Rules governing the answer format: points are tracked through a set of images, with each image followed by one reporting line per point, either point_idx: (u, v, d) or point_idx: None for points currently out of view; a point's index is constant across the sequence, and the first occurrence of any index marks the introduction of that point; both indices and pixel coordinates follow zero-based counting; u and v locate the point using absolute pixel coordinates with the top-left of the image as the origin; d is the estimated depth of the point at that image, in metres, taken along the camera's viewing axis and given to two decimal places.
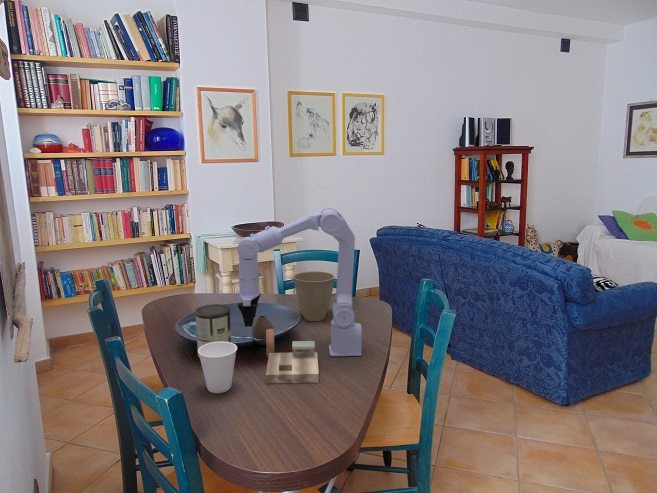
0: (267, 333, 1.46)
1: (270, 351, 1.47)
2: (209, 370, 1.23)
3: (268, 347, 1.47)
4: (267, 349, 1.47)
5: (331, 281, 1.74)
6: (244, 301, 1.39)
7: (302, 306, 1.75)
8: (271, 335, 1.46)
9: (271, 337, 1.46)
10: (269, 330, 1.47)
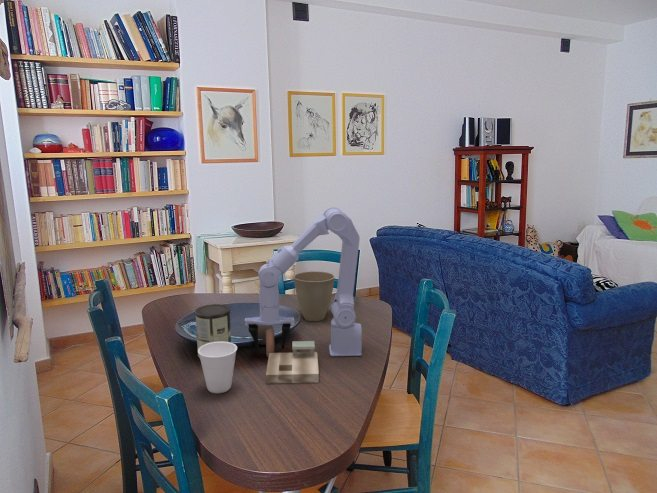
0: (267, 333, 1.46)
1: (270, 351, 1.47)
2: (209, 370, 1.23)
3: (268, 347, 1.47)
4: (267, 349, 1.47)
5: (331, 281, 1.74)
6: (245, 320, 1.46)
7: (302, 306, 1.75)
8: (271, 335, 1.46)
9: (271, 337, 1.46)
10: (269, 330, 1.46)
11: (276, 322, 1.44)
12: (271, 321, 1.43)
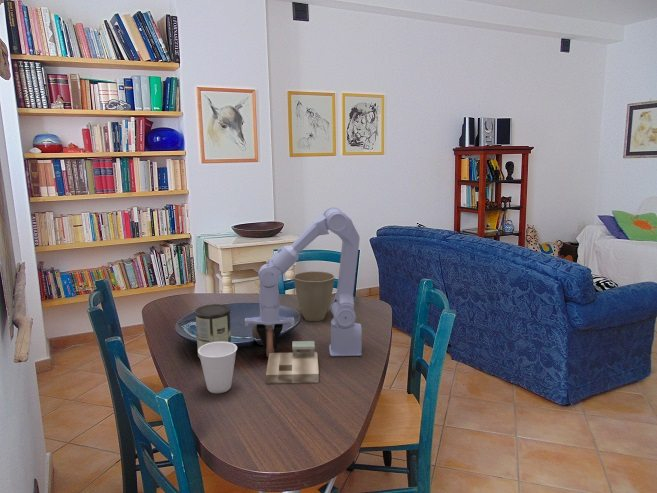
0: (267, 333, 1.46)
1: (270, 351, 1.47)
2: (209, 370, 1.23)
3: (268, 347, 1.47)
4: (267, 349, 1.47)
5: (331, 281, 1.74)
6: (245, 320, 1.46)
7: (302, 306, 1.75)
8: (271, 335, 1.46)
9: (271, 337, 1.46)
10: (269, 330, 1.46)
11: (276, 322, 1.44)
12: (271, 321, 1.43)
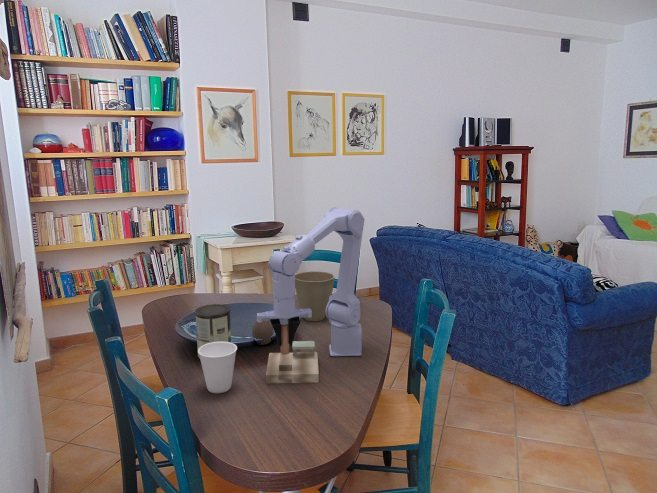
0: (283, 328, 1.31)
1: (286, 348, 1.32)
2: (209, 370, 1.23)
3: (284, 344, 1.32)
4: (282, 346, 1.32)
5: (331, 281, 1.74)
6: (257, 315, 1.30)
7: (302, 306, 1.75)
8: (287, 330, 1.32)
9: (287, 331, 1.32)
10: (284, 325, 1.32)
11: (294, 315, 1.29)
12: (289, 314, 1.29)
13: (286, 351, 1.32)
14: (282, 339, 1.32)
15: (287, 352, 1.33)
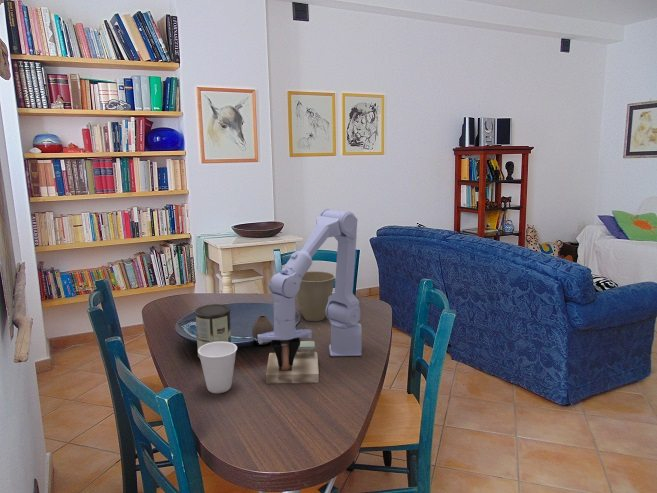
0: (283, 349, 1.32)
1: (286, 368, 1.33)
2: (209, 370, 1.23)
3: (284, 364, 1.33)
4: (283, 367, 1.33)
5: (331, 281, 1.74)
6: None
7: (302, 306, 1.75)
8: (287, 350, 1.33)
9: (287, 352, 1.33)
10: (284, 345, 1.33)
11: (294, 336, 1.31)
12: (289, 335, 1.30)
13: None
14: (282, 360, 1.33)
15: None
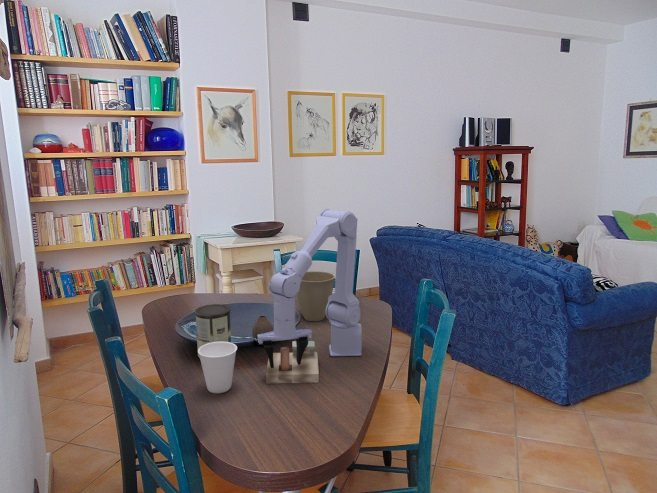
0: (283, 352, 1.32)
1: None
2: (209, 370, 1.23)
3: (284, 367, 1.33)
4: (283, 370, 1.34)
5: (331, 281, 1.74)
6: None
7: (302, 306, 1.75)
8: (287, 354, 1.33)
9: (287, 355, 1.33)
10: (284, 349, 1.33)
11: (294, 336, 1.31)
12: (289, 335, 1.30)
13: None
14: (282, 363, 1.33)
15: None
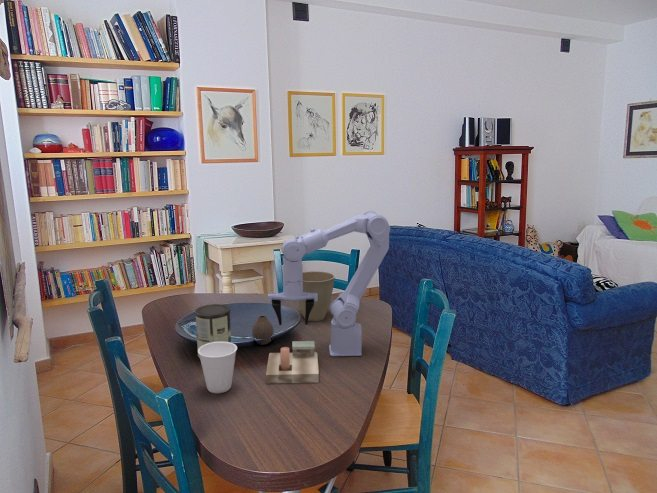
0: (283, 352, 1.32)
1: None
2: (209, 370, 1.23)
3: (284, 367, 1.33)
4: (283, 370, 1.33)
5: (331, 281, 1.74)
6: (268, 295, 1.45)
7: (302, 306, 1.75)
8: (288, 354, 1.33)
9: (288, 355, 1.33)
10: (284, 349, 1.33)
11: (300, 297, 1.43)
12: (295, 296, 1.42)
13: None
14: (283, 363, 1.33)
15: None
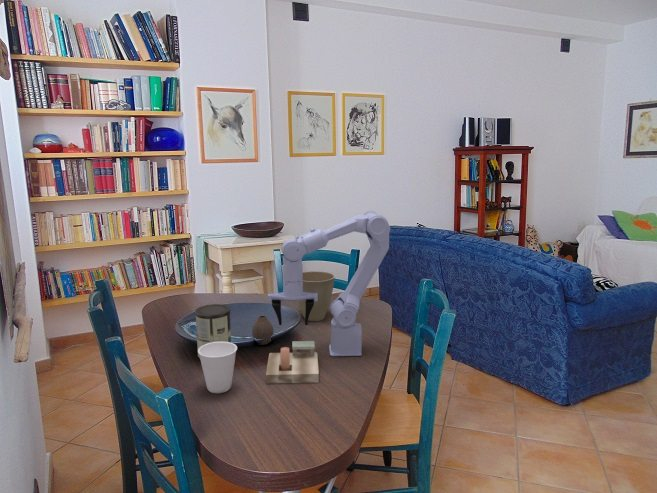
0: (283, 352, 1.32)
1: None
2: (209, 370, 1.23)
3: (284, 367, 1.33)
4: (283, 370, 1.33)
5: (331, 281, 1.74)
6: (268, 295, 1.45)
7: (302, 306, 1.75)
8: (288, 354, 1.33)
9: (288, 356, 1.33)
10: (284, 349, 1.33)
11: (300, 297, 1.43)
12: (295, 296, 1.42)
13: None
14: (283, 363, 1.33)
15: None
